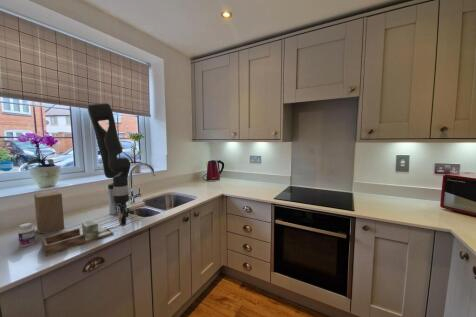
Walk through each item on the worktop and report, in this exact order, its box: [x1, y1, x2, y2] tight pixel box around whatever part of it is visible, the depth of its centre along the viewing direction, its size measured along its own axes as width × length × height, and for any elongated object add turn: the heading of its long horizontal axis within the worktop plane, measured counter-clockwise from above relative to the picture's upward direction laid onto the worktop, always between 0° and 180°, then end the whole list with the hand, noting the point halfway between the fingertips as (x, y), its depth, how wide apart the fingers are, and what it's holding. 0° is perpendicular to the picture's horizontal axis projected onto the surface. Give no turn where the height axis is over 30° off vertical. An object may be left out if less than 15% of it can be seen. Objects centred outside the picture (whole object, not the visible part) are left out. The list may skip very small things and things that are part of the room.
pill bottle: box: [18, 222, 37, 248], centre depth 96 cm, size 5×5×10 cm
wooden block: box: [33, 190, 65, 235], centre depth 112 cm, size 10×10×20 cm
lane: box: [40, 226, 114, 257], centre depth 100 cm, size 26×11×4 cm, turn 140°
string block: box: [81, 213, 127, 238], centre depth 108 cm, size 19×7×7 cm, turn 140°
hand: (122, 223), depth 115 cm, fingers closed on string block, 3 cm apart
